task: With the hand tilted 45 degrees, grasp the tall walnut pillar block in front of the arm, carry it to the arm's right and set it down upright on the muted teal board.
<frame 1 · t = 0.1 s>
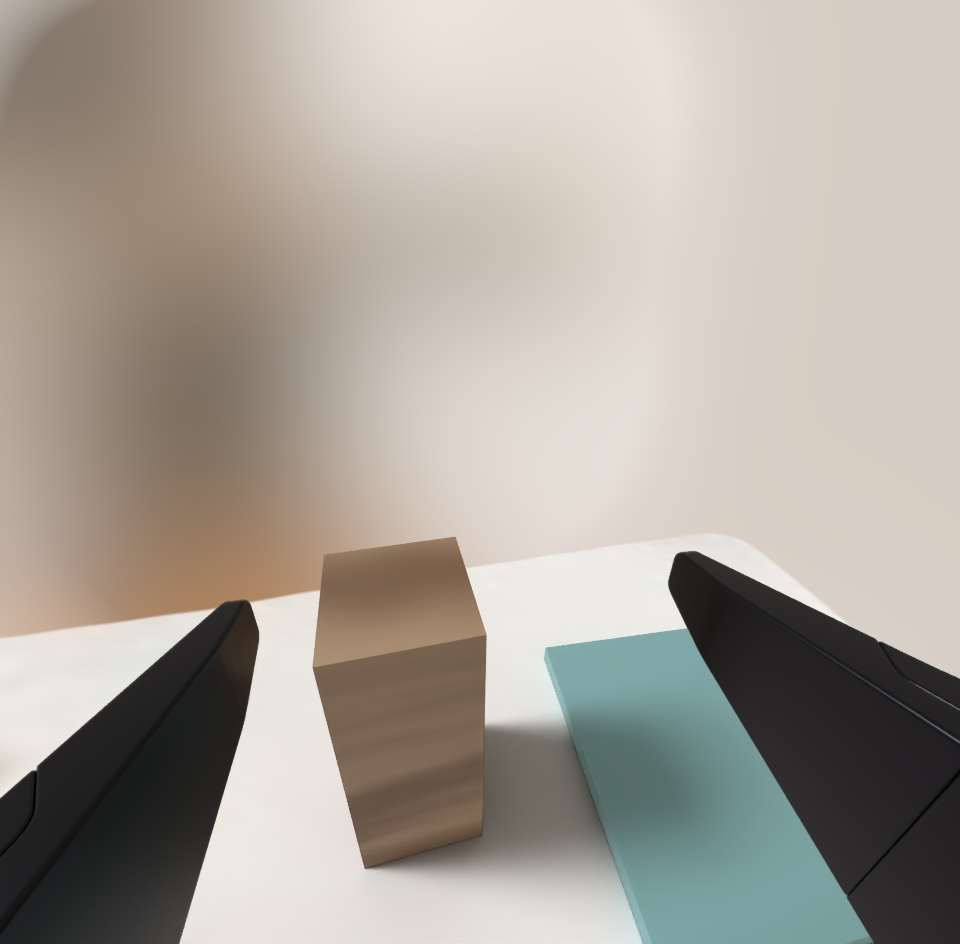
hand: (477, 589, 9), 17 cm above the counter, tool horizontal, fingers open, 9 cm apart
walnut pillar: (418, 788, 21), on the counter
teal board: (718, 756, 22), on the counter
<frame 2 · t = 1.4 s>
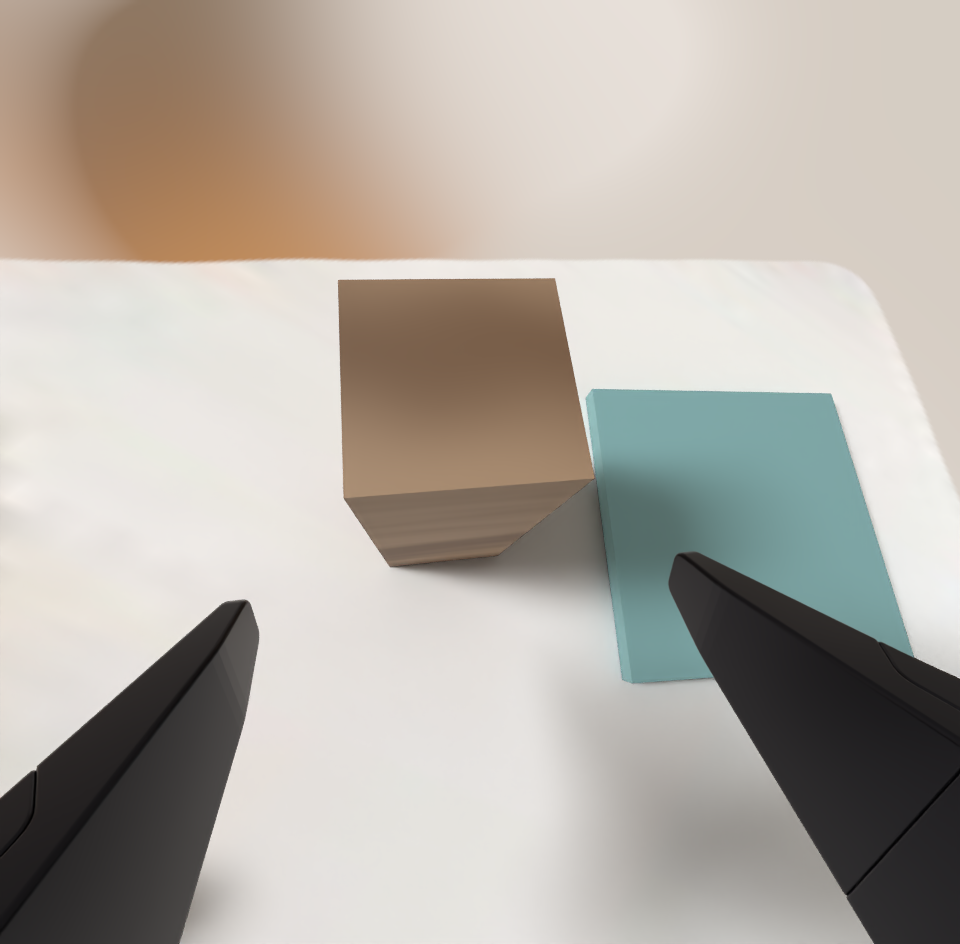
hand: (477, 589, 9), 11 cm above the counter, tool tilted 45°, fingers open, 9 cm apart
walnut pillar: (439, 508, 21), on the counter
teal board: (732, 522, 23), on the counter
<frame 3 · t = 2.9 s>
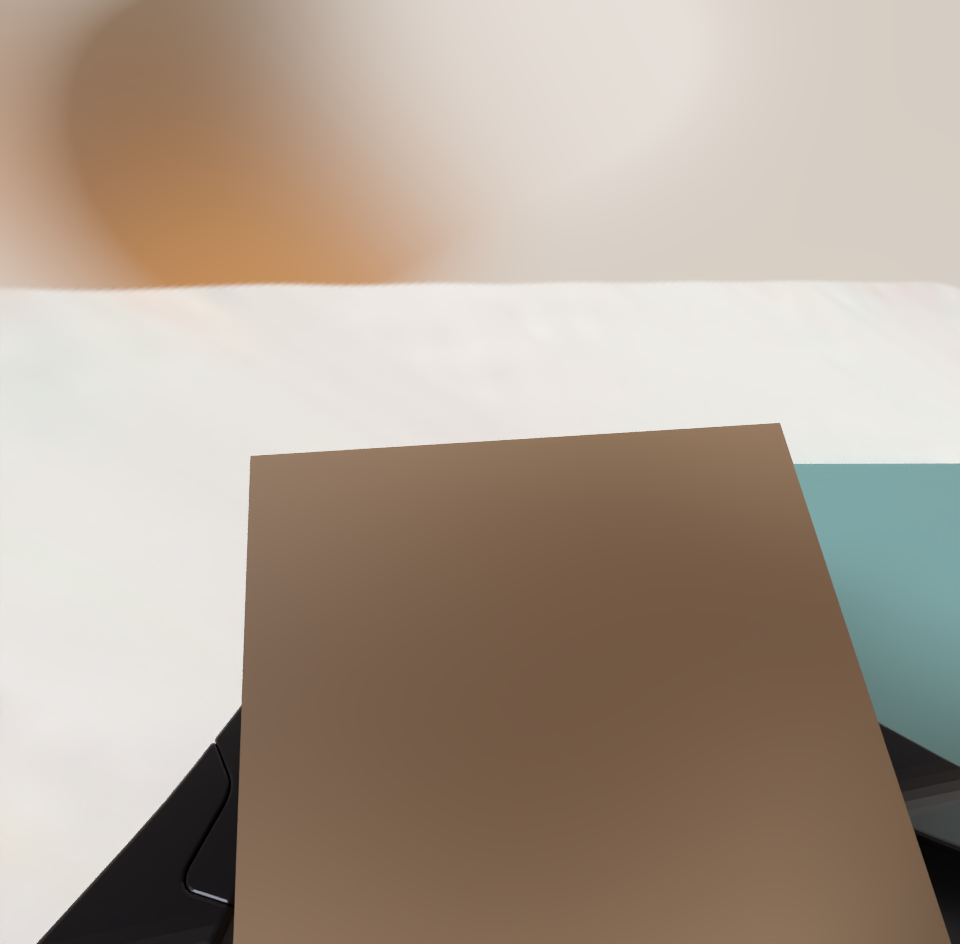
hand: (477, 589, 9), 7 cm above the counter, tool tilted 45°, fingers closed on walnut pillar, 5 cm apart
walnut pillar: (459, 640, 15), on the counter, touching gripper
teal board: (854, 647, 17), on the counter
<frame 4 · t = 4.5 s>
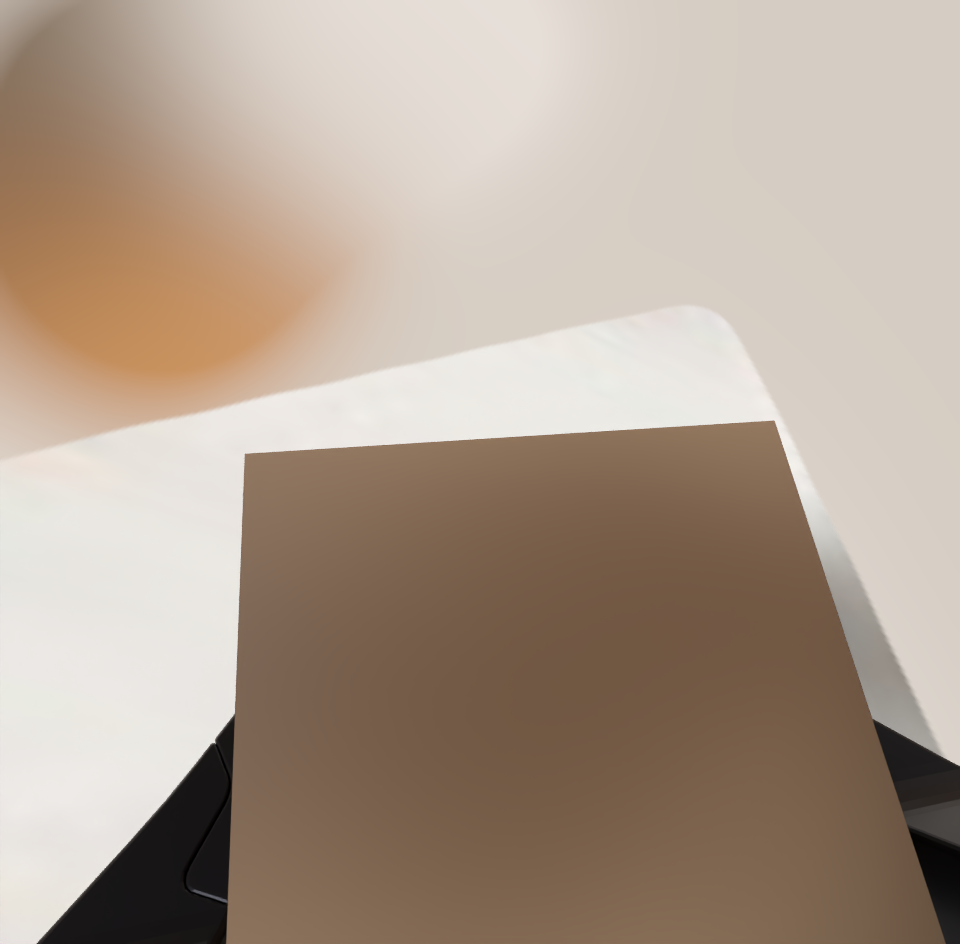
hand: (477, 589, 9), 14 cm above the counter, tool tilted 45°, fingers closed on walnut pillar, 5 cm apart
walnut pillar: (457, 639, 15), point 7 cm above the counter, touching gripper
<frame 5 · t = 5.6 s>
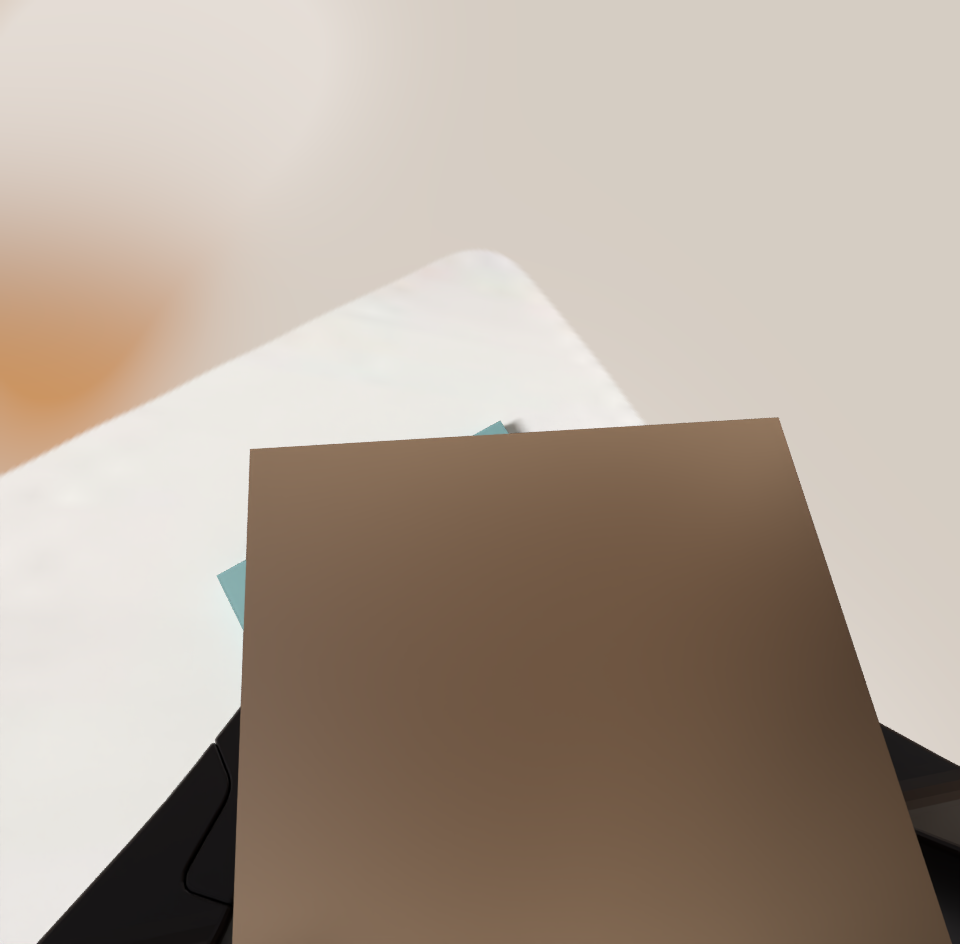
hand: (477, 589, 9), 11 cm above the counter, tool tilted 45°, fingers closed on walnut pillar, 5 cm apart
walnut pillar: (459, 638, 15), point 5 cm above the counter, touching gripper
teal board: (450, 629, 20), on the counter
when the fingers open (9 cm above the counter, at t = 6.4 s): walnut pillar drops 1 cm, resting on teal board.
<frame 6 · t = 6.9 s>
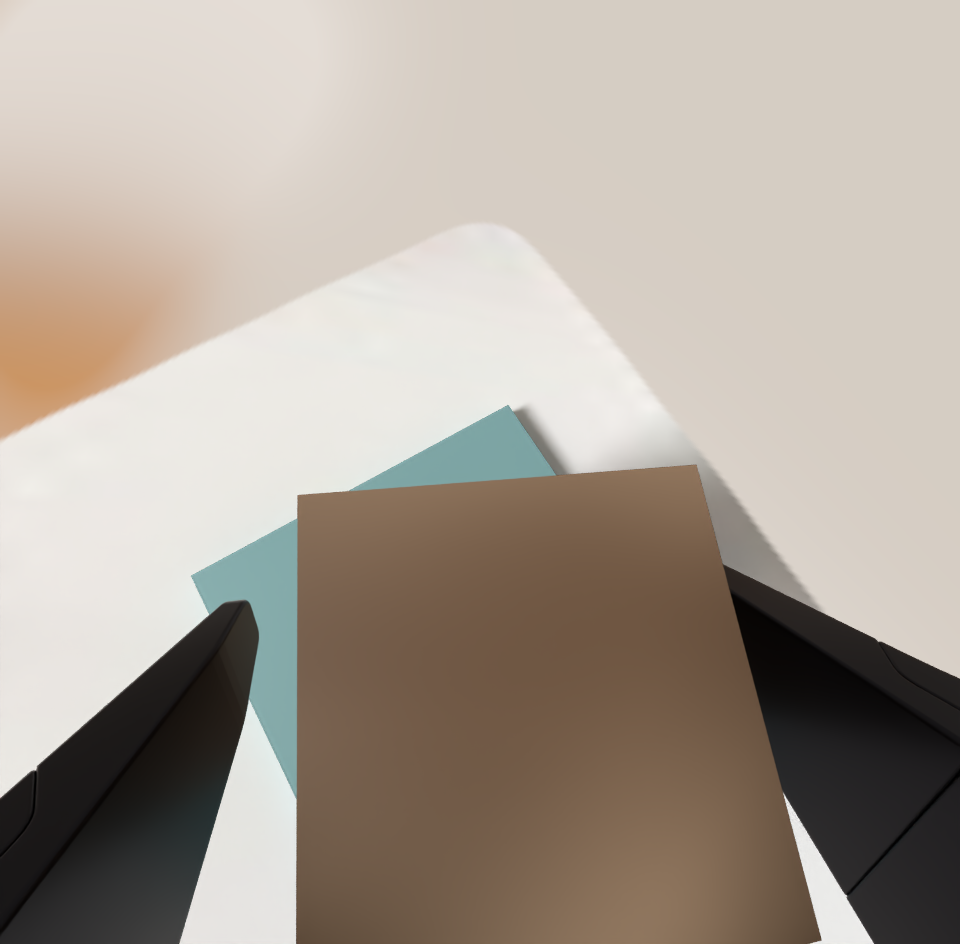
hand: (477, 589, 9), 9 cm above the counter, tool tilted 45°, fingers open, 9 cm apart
walnut pillar: (456, 636, 17), point 1 cm above the counter, touching teal board
teal board: (454, 635, 18), on the counter
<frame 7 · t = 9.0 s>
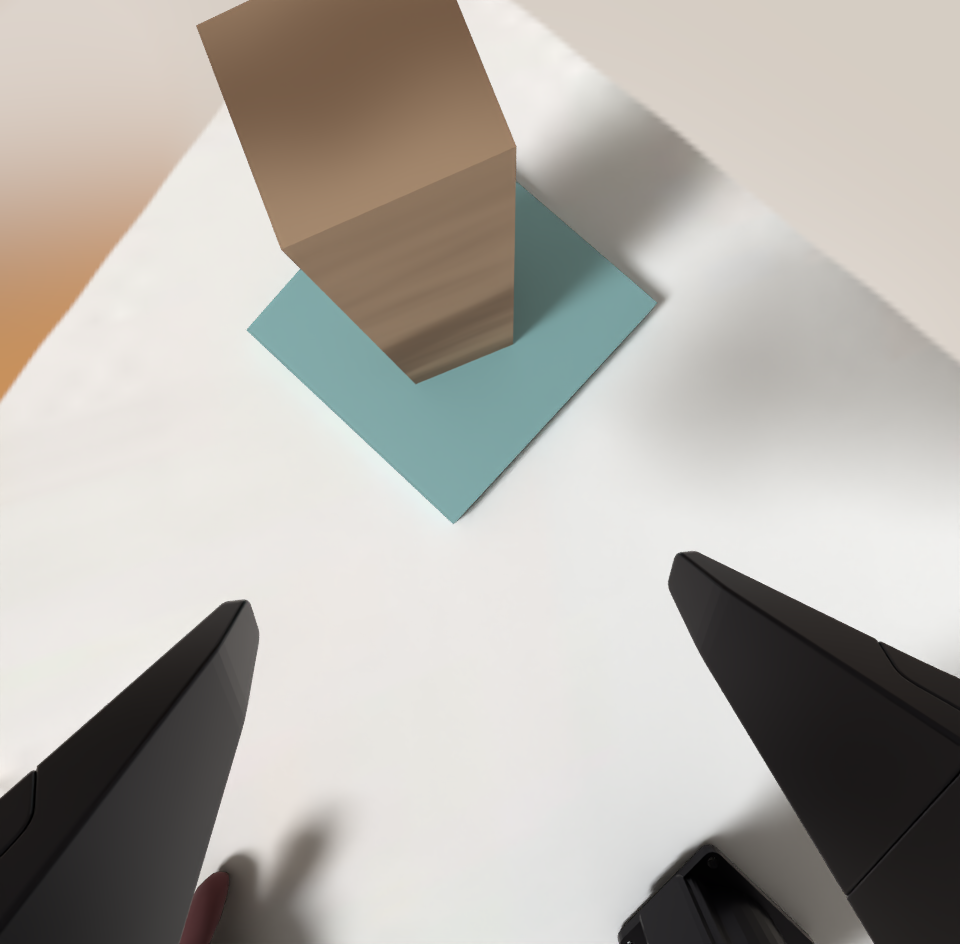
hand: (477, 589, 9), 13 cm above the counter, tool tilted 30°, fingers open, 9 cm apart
walnut pillar: (445, 316, 21), point 1 cm above the counter, touching teal board
teal board: (448, 324, 22), on the counter
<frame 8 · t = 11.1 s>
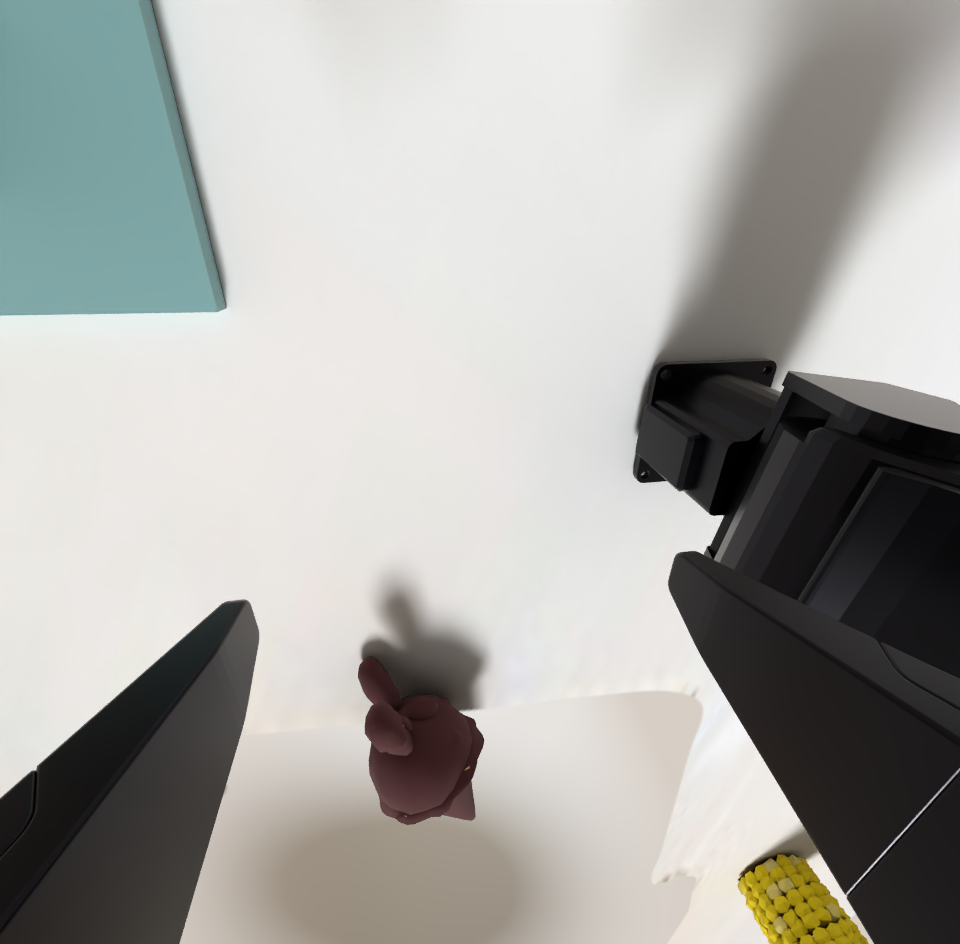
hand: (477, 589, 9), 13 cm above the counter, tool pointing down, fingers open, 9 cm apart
food: (771, 864, 58), on the counter
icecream: (423, 706, 31), on the counter
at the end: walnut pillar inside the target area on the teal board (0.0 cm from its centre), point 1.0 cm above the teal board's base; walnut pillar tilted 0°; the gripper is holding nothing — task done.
